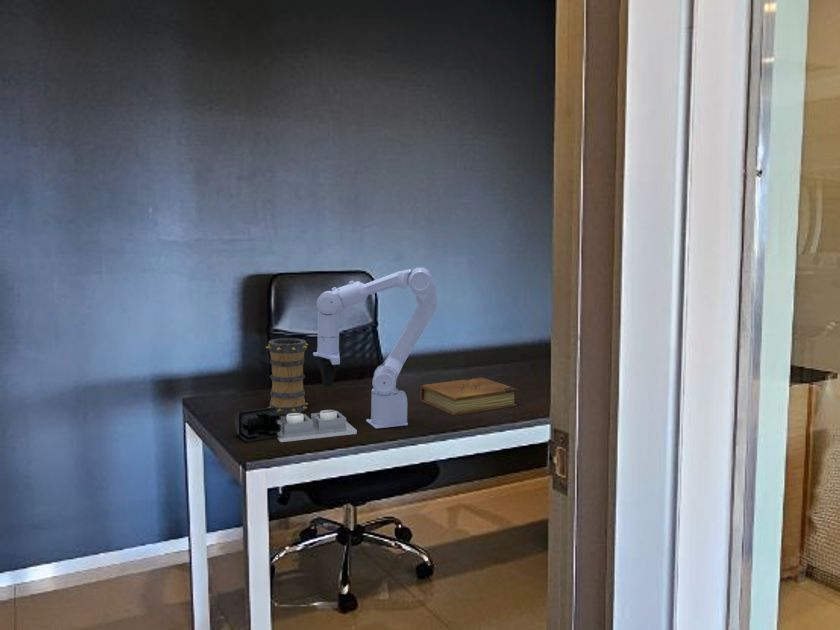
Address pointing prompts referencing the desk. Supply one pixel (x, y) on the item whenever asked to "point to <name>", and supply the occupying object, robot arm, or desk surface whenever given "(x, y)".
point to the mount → (314, 428)
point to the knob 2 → (328, 414)
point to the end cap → (257, 424)
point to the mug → (287, 375)
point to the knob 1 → (294, 417)
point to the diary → (468, 395)
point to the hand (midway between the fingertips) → (327, 385)
